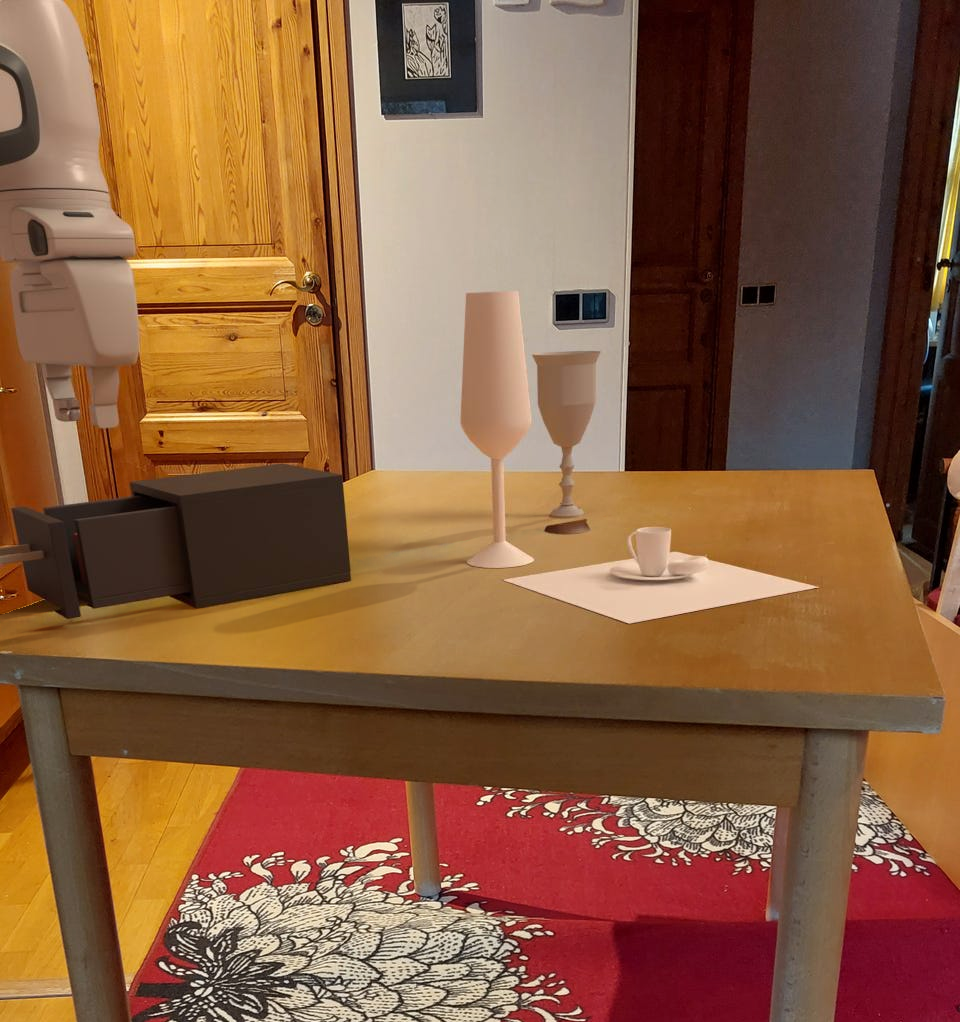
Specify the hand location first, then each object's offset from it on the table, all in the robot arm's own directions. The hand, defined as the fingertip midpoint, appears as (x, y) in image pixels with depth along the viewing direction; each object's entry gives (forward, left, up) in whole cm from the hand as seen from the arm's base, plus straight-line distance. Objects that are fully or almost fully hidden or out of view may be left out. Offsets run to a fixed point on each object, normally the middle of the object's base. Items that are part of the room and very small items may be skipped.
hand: (86, 424), depth 97 cm
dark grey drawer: (-1, 0, -14) cm, 15 cm away
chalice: (+51, -1, -16) cm, 53 cm away
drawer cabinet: (+13, 0, -15) cm, 20 cm away
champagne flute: (+36, -9, -16) cm, 40 cm away
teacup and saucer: (+40, -27, -16) cm, 50 cm away
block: (0, 0, -13) cm, 13 cm away
